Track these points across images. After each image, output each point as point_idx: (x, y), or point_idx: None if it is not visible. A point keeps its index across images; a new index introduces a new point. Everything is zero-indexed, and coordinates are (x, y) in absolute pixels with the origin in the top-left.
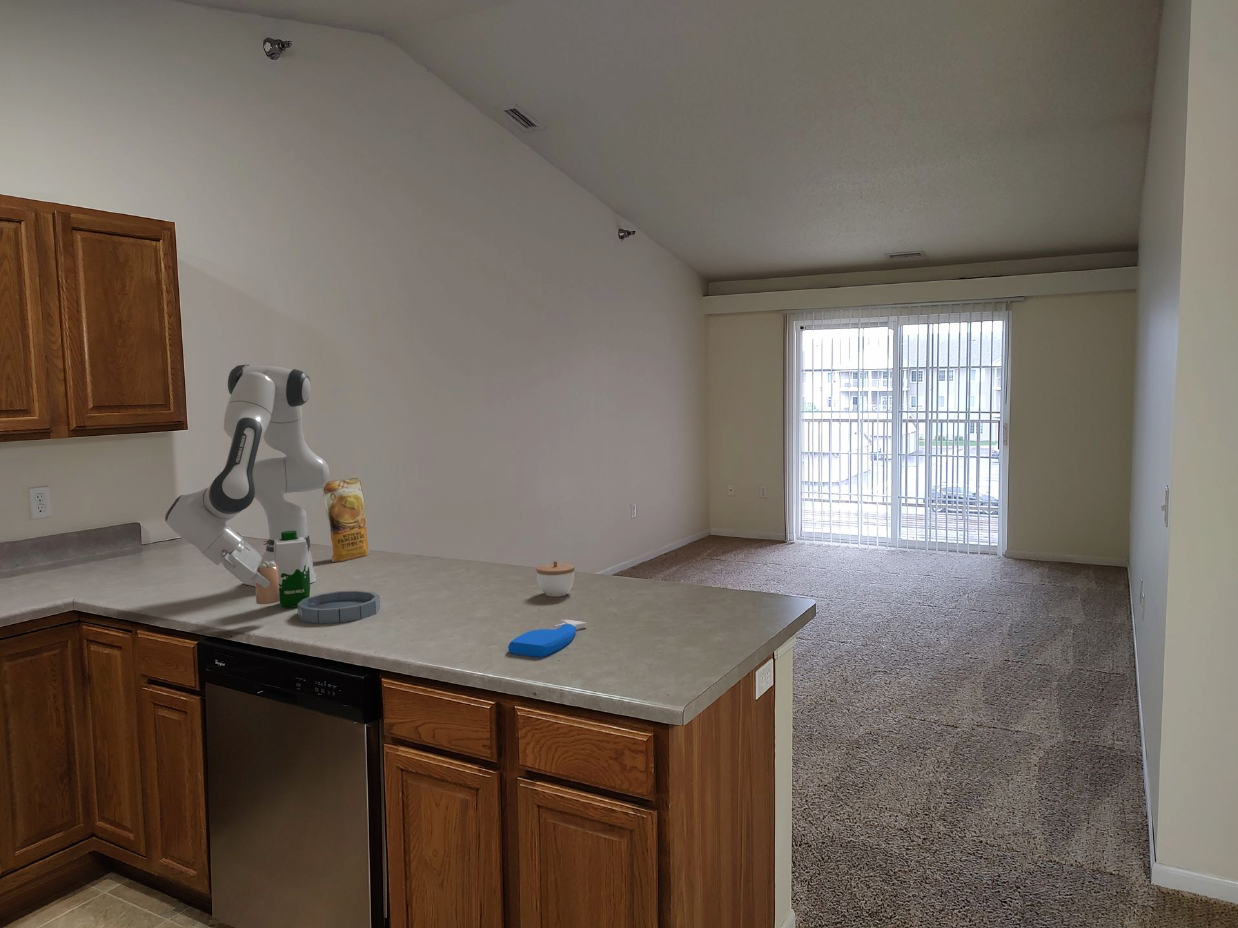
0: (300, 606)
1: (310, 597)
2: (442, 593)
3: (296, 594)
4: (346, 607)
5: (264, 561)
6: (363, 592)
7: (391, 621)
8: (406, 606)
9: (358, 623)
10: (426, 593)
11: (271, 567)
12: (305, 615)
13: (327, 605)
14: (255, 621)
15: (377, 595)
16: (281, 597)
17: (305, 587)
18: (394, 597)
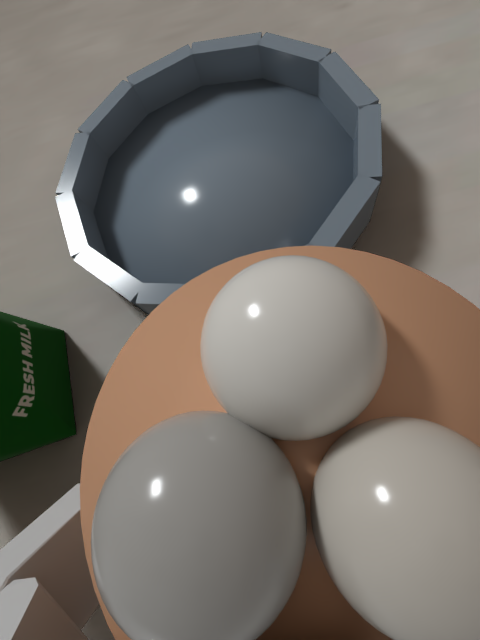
0: None
1: (118, 279)
2: (93, 3)
3: (36, 360)
4: (353, 86)
5: (232, 520)
6: (113, 109)
7: (379, 15)
8: (203, 35)
9: (390, 92)
10: (75, 35)
11: (395, 319)
12: None
13: (156, 233)
14: None
15: (183, 50)
16: (31, 437)
17: (1, 314)
18: (82, 94)
